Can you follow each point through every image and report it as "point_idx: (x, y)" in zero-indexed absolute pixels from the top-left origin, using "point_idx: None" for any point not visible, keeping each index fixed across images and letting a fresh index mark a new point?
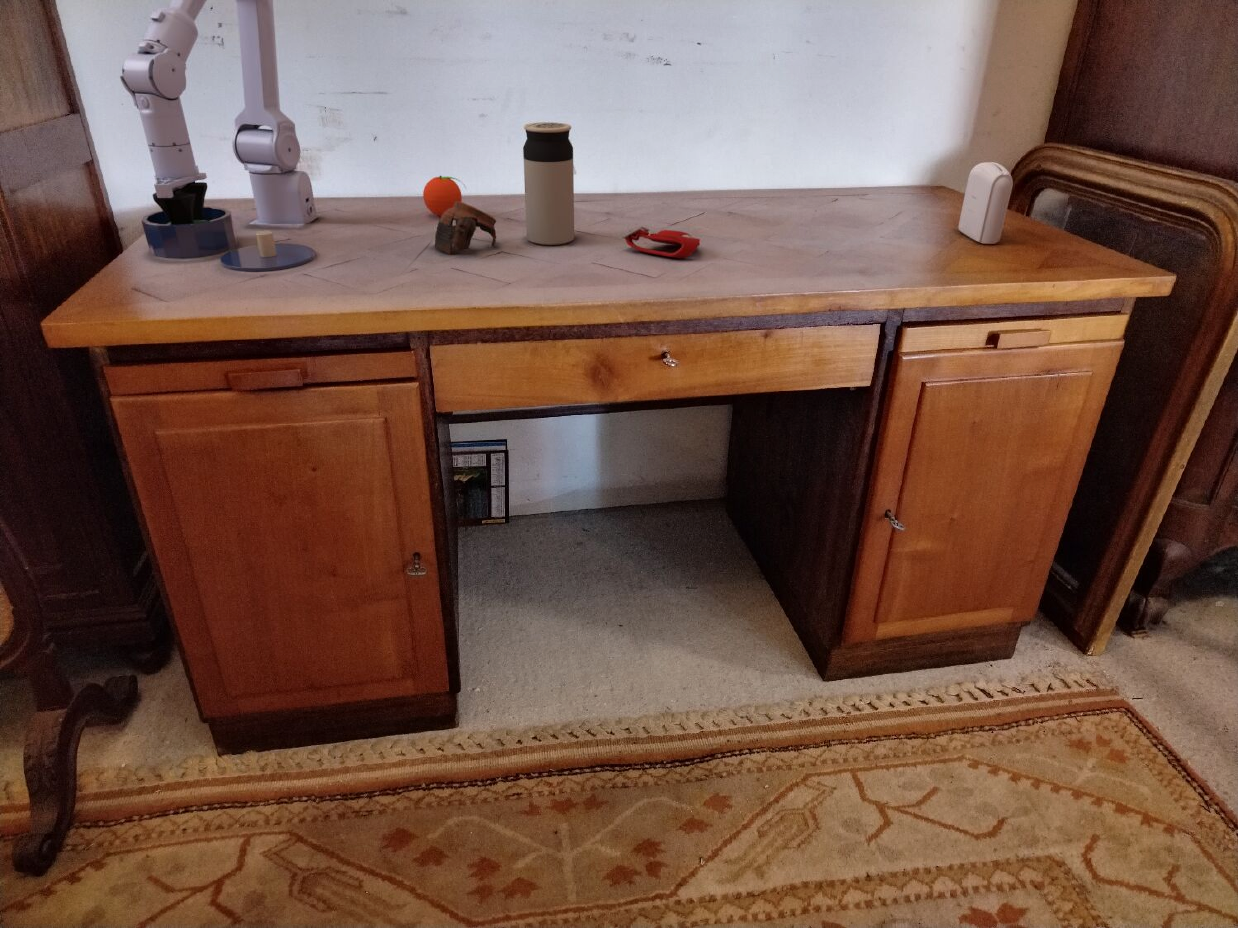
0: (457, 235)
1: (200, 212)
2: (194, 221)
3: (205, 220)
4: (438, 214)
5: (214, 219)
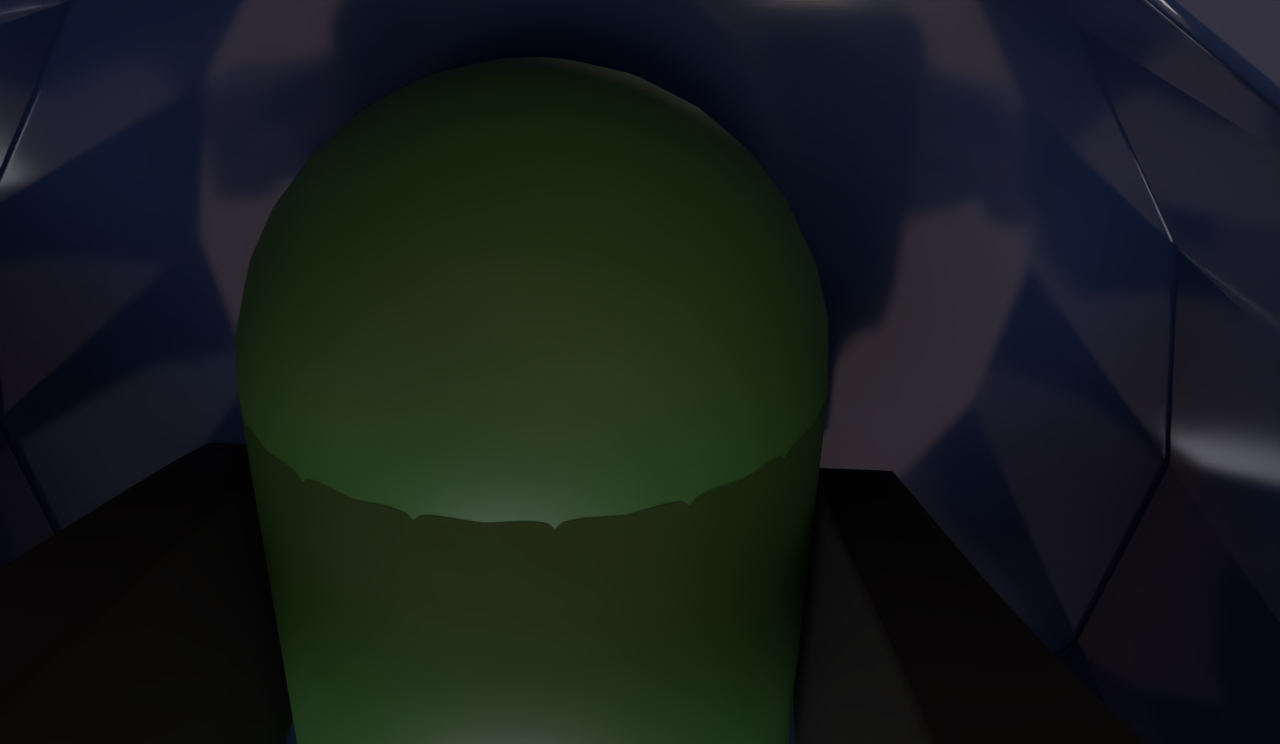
0: None
1: (39, 688)
2: (578, 660)
3: (447, 441)
4: None
5: (1245, 37)
